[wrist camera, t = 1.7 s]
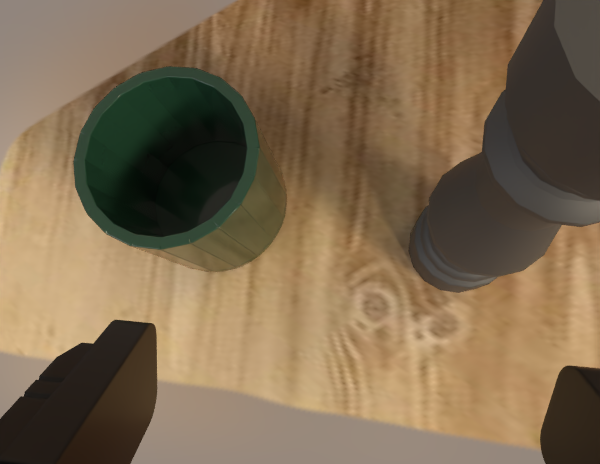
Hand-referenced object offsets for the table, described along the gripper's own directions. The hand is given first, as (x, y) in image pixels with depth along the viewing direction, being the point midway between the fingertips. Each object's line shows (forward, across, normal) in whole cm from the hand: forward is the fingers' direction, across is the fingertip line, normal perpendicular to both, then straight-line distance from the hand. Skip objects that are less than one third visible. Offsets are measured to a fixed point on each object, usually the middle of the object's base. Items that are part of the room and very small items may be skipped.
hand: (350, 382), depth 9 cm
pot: (+26, +8, +4) cm, 28 cm away
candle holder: (+23, -9, +5) cm, 25 cm away
